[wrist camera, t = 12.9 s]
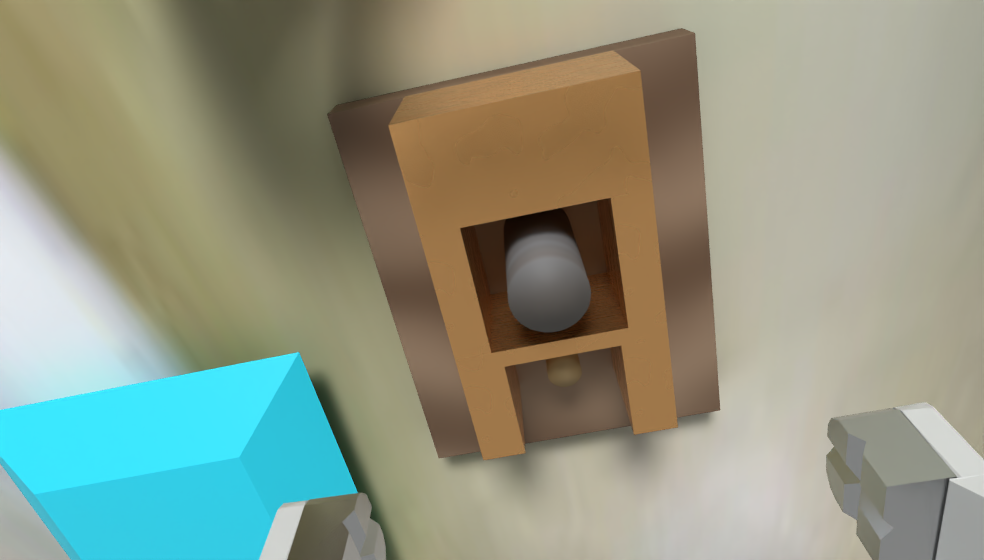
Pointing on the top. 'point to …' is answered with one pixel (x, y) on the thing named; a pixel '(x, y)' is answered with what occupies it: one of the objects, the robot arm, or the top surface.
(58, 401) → the prism
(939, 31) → the top surface
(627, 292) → the wooden notched block
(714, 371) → the flange base
